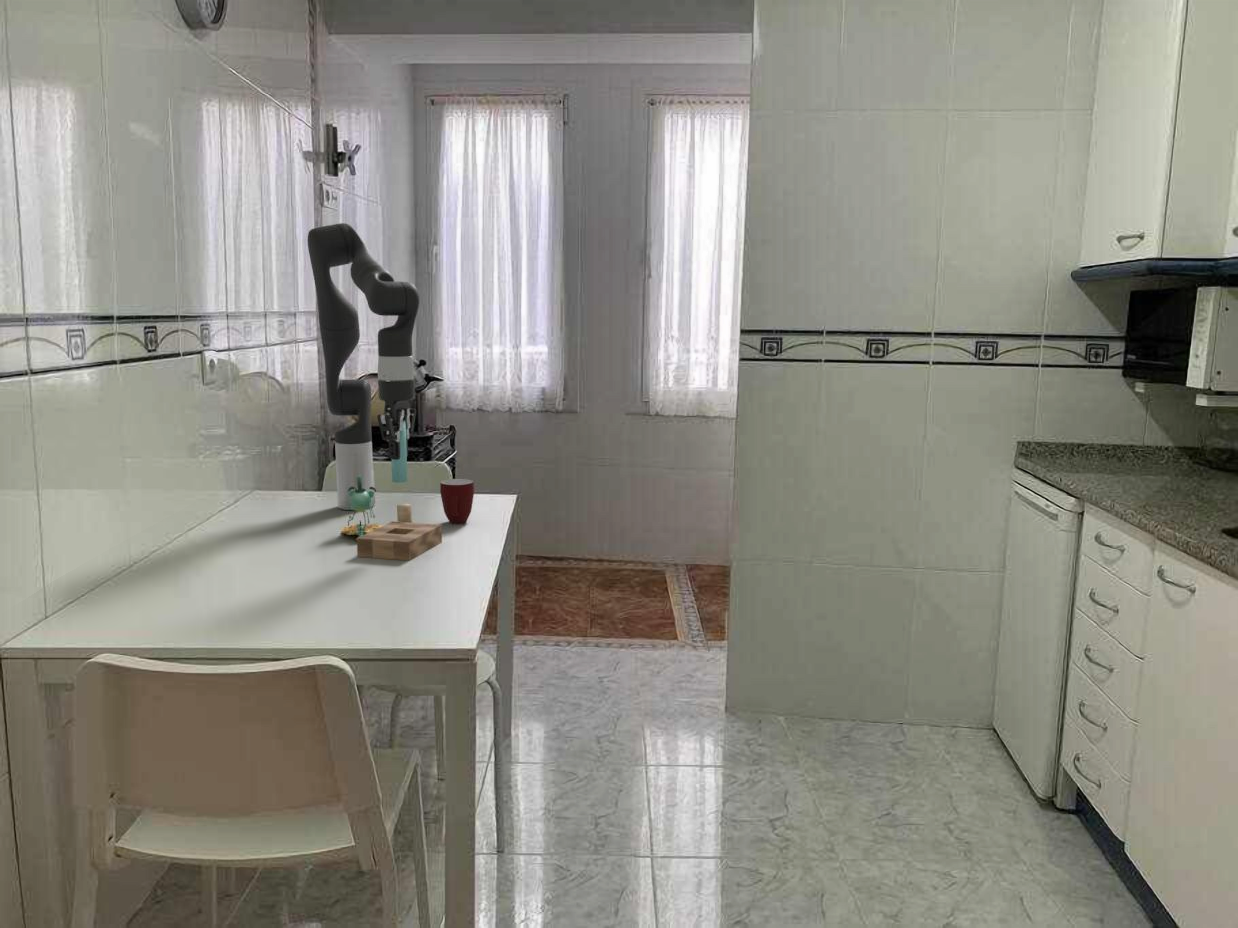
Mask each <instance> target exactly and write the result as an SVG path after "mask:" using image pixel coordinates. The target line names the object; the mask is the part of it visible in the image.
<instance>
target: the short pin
mask: <svg viewBox="0 0 1238 928" xmlns="http://www.w3.org/2000/svg"><path fill="white" fill-rule="evenodd" d="M396 510H397V511H396V512H397V514H396V515H397V517H396V518H397V522H408V523H413V518H412V517H413V516H412V515H413V513H412V504H411V503H400V504H397V505H396Z"/></svg>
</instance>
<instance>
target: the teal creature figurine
mask: <svg viewBox="0 0 1238 928" xmlns="http://www.w3.org/2000/svg"><path fill="white" fill-rule="evenodd" d="M357 485H358V490H357V489H355V488H354V487H350V488H349V489H348V492H349V491H350V490H351V489H355V491H354V490H351V491H350V492H349V495H350V497H351V498H350V504H349V505H351V506H352V508H353V509H354V510H353V515H352V516H351V515H348V517H349V518H348V520H347V526H344V527H343V528H341V529H342V530H340V532H341V533H342V534H346V535H349V536H351V535H352V536H357V537H360V536H363V535H365V534H367V533H369V532H371V531H373V530H375V529H378V528H380V527H382V526H383V525H382V524H377V523H371V520H370V519H369V518H372V517H373V519H375V518H376V515H375V514H374V511H373V507H372V506H371V503H372V499H371V498H372V497H373V496H374V492H373V491H369V492H366V491H365V488H363V489H362V483H361V477H360V476H357ZM370 489H373V490H374V491H375V493H376V492H377V489H376V487H375V488H374V487H370ZM349 505H348V507H347V508H348V509H350V506H349ZM370 506H371V508H370ZM367 510H369V512H367ZM357 512H358V513H363V517H364V524H362V520H359V523H356V524H354V525H353V524H352V525H351V524H350V521H353V520H354V517H355V515H356V513H357ZM365 513H366V514H365ZM369 513H370V517H369ZM365 515H367V521H368V523H367V521H366V516H365ZM370 523H371V524H370ZM354 540H355V541H357V538H355V539H354Z"/></svg>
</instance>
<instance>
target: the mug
mask: <svg viewBox="0 0 1238 928" xmlns="http://www.w3.org/2000/svg"><path fill="white" fill-rule="evenodd" d="M439 484H440V487H439V488H440V491H439V492H440V499H441V501H442V502H441V503H442V508H443V512H444V514H445V516H446V518H447V520H448V522H449V523H450V524H452V525H453V524H454V525H455V524H456V525H459V524H464V523H467V521H468V519H469V517H470V515H471V512H472V508H473V503H474V502H473V501H474V494H475V482H474V480H472V479H467V478H452V479H445V480H444V479H443V480H442V481H440V482H439Z"/></svg>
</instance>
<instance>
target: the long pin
mask: <svg viewBox="0 0 1238 928" xmlns="http://www.w3.org/2000/svg"><path fill="white" fill-rule="evenodd" d="M393 427H397V426H393ZM394 432H395V431H394ZM399 442H400V459H398V460H393V459H390V460H391V482H393V483H406V482H408V461H407V459H408V458H407V457H408V456H407V451H406V421H403V425H402V431H400V440H399Z"/></svg>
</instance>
